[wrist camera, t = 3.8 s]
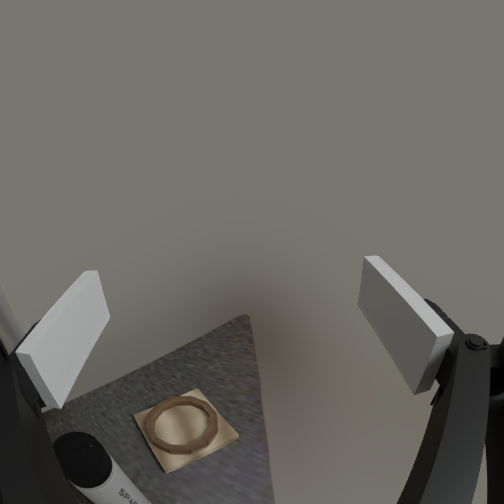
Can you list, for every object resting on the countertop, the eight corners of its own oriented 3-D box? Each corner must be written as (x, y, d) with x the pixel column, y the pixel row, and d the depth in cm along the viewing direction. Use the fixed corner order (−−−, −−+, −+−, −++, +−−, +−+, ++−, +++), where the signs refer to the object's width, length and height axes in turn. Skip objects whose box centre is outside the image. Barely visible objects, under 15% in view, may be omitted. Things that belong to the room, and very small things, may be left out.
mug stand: (166, 473, 36) (162, 467, 35) (134, 418, 46) (130, 410, 45) (239, 437, 43) (238, 430, 42) (198, 391, 54) (196, 383, 53)
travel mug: (110, 504, 28) (42, 435, 21) (146, 492, 32) (92, 421, 24) (125, 535, 23) (51, 481, 16) (164, 523, 27) (108, 465, 19)
